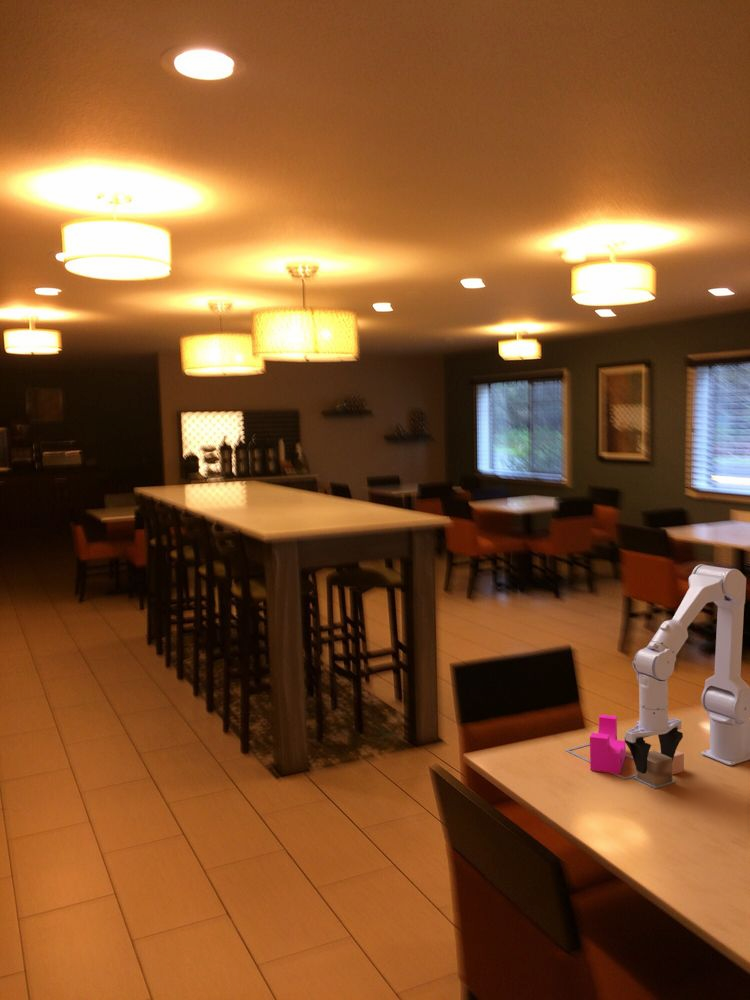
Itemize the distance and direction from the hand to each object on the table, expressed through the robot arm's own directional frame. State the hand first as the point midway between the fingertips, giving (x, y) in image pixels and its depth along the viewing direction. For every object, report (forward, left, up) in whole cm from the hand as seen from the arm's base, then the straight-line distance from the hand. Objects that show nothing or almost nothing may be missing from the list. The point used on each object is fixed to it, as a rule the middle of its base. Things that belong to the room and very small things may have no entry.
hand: (654, 767), depth 168 cm
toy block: (0, -13, -3) cm, 13 cm away
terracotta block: (-7, -2, -3) cm, 8 cm away
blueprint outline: (0, -10, -3) cm, 10 cm away
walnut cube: (0, 0, -2) cm, 3 cm away
